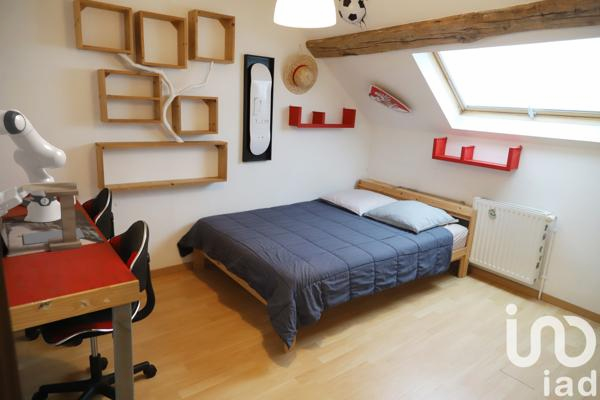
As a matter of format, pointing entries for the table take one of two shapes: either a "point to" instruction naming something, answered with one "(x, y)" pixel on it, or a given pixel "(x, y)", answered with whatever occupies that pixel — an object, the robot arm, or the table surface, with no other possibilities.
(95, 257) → the table surface
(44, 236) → the rubber mat
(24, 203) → the marble piece
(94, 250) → the table surface
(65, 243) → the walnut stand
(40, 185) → the ash bar
